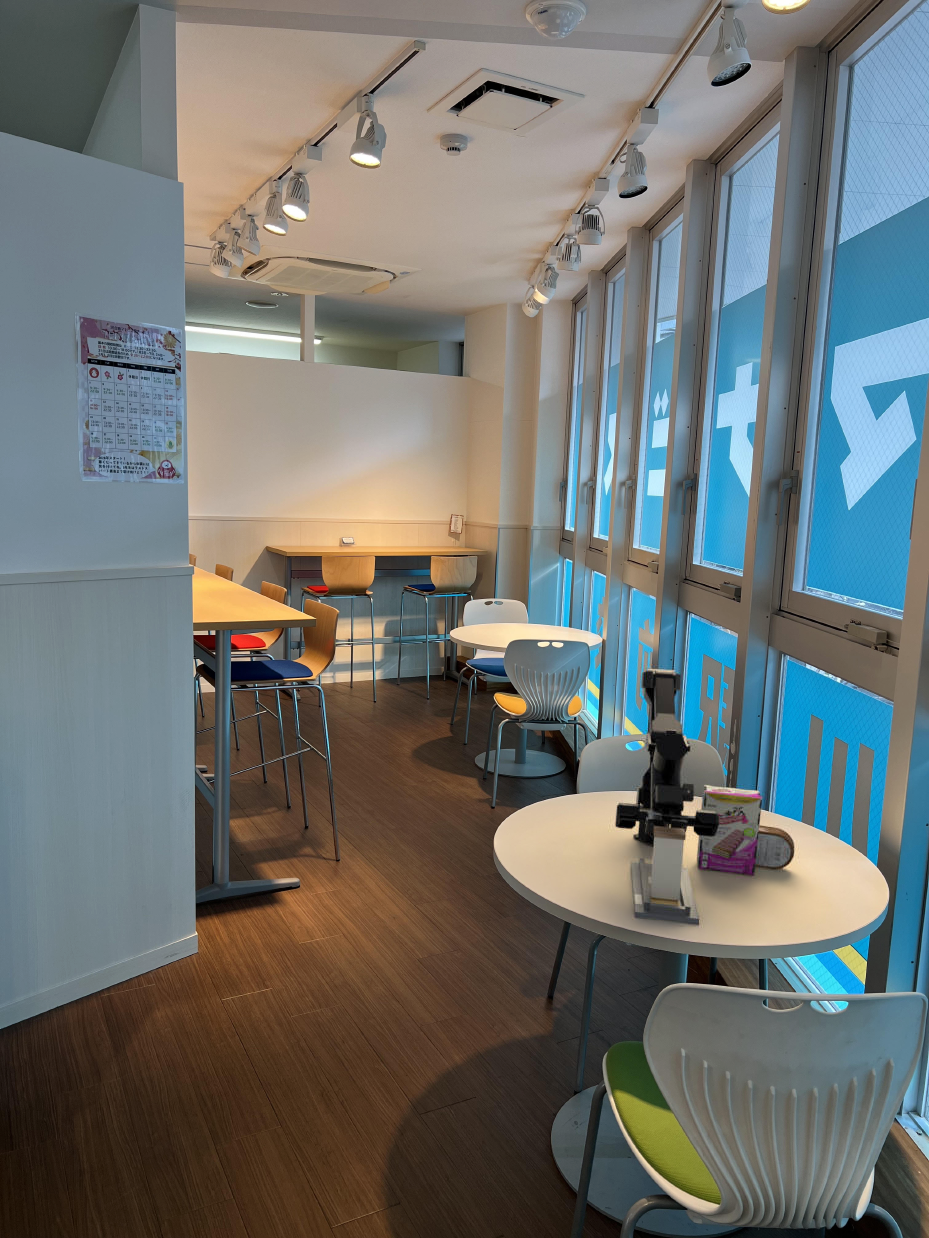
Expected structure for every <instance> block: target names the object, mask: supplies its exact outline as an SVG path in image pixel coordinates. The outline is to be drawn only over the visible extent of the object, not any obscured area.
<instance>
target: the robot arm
mask: <svg viewBox="0 0 929 1238" xmlns="http://www.w3.org/2000/svg"><path fill="white" fill-rule="evenodd" d="M681 679H682V674H679V673H677V672H676V671H675V669H665V668H664V669H663V668H647V670H646V671H643V672H642V673H641V682H640V684H641V685H640V687H641V689H643V699H644V700H645V702H646V703H647V704H648V706H649V709H650V711H649V732H646V739H645V750H646V751H647V752H648V769H647V770H646V772H645V773H644V775H643V776H642V778H641V780H640V781H641V782H640V785H639V786H638V787H637V790H636V791H637V792H636V796H635V803H630V802H629V803H626V802H619V803H618V804H617V805H616V811H615V823H614V824H615V825H614V826H615V827H616V828H618V829H627V830H632V829H634V828H635V827H637V823H638V830H637V831H638V832H637V833H634V834H633V836H632V837H633V838H634V839H637V840H639V841H641V842H644V843H645V844H648V845H650V846H651V847H652V846H653V847H654V826H659V827H670V828H680V829H684V830H685V834H686V832H687V829H688V827H692V828H693V832H694V833H695V834H696V835H697V836H698V837H699V836H709V837H713V836H715V835H716V832H717V829H718V826H719V816H718V814H717V813H716V812H715V811H707V810H701V809H696V811H695V815H686V814H685V815H684V814H682V812H684V809H685V807H684V805H685V804H684V803H685V802H686V803H687V802H688V803H689V802H690V803H692V802H693V801H694V799H695V797H694V796H695V789H694V788H695V785H694V783H683V784H682V772H681V771H682V769H683V768H684V763H685V759H686V755H688V752H689V753H690V752H691V744H690V742H689V740H687V735H684V734H683V733H684V732H683V724H682V723H681V722H680V721H679V720H678V719H677V718H676V703H675V701H676V700H675V698H676V696H677V692H679V691H681V685H682V684H681V681H682V680H681Z"/></svg>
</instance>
